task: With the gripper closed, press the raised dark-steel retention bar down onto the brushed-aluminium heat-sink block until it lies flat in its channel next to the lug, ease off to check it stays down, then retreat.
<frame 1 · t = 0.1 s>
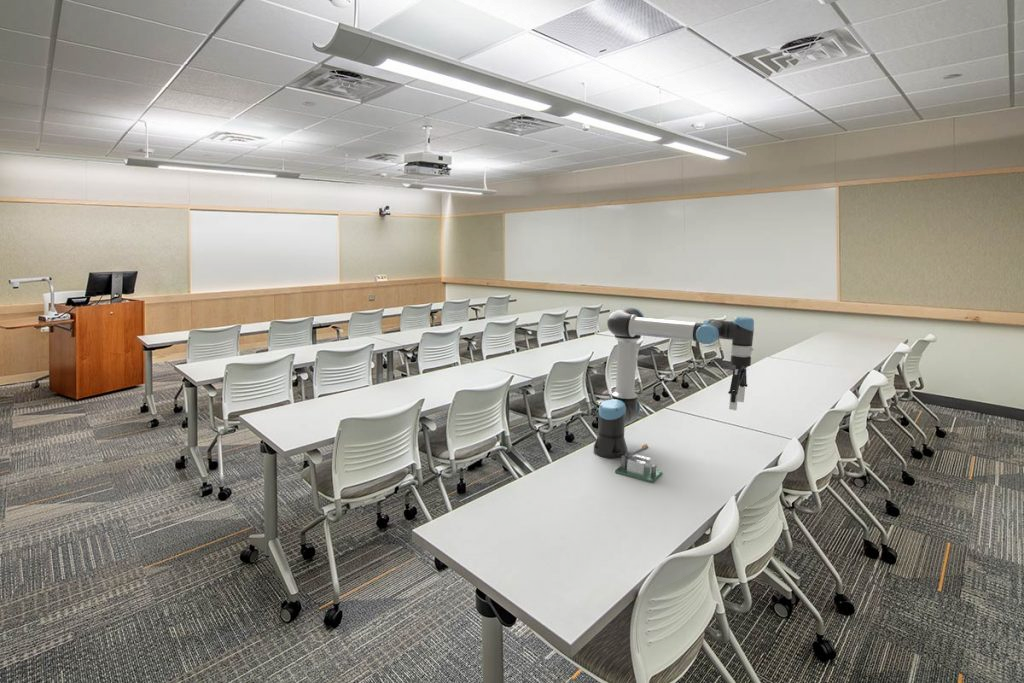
hand: (736, 405, 215), 28 cm above the table, fingers open, 13 cm apart
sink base: (638, 473, 215), on the table
strap: (635, 451, 214), point 9 cm above the table, hinge at 35.0°
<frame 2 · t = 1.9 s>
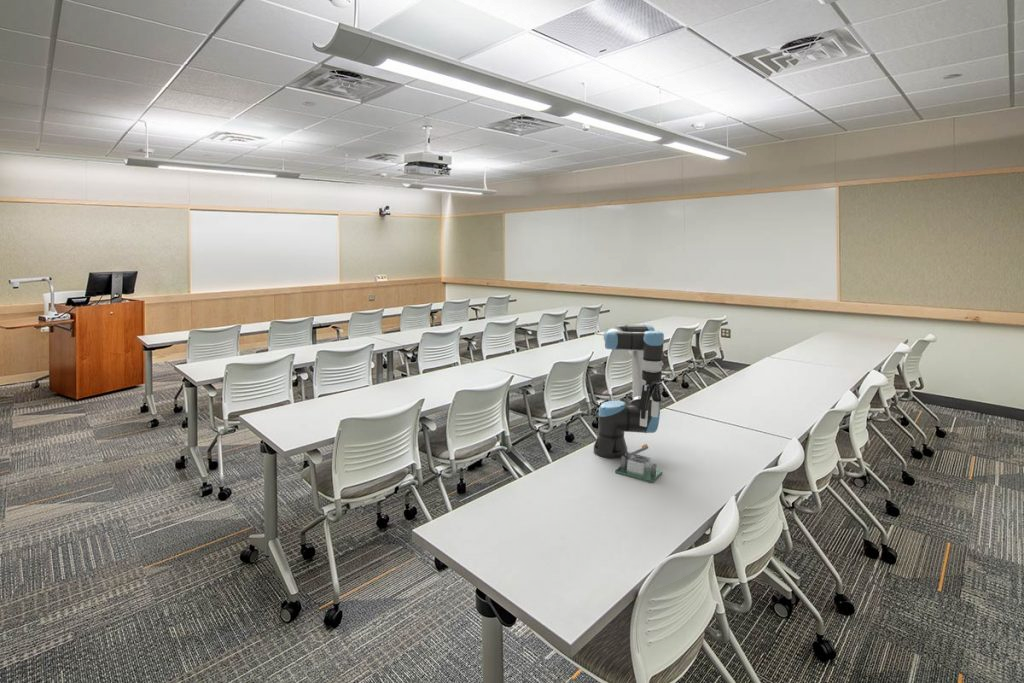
hand: (648, 421, 210), 23 cm above the table, fingers open, 13 cm apart
nothing on the table moved.
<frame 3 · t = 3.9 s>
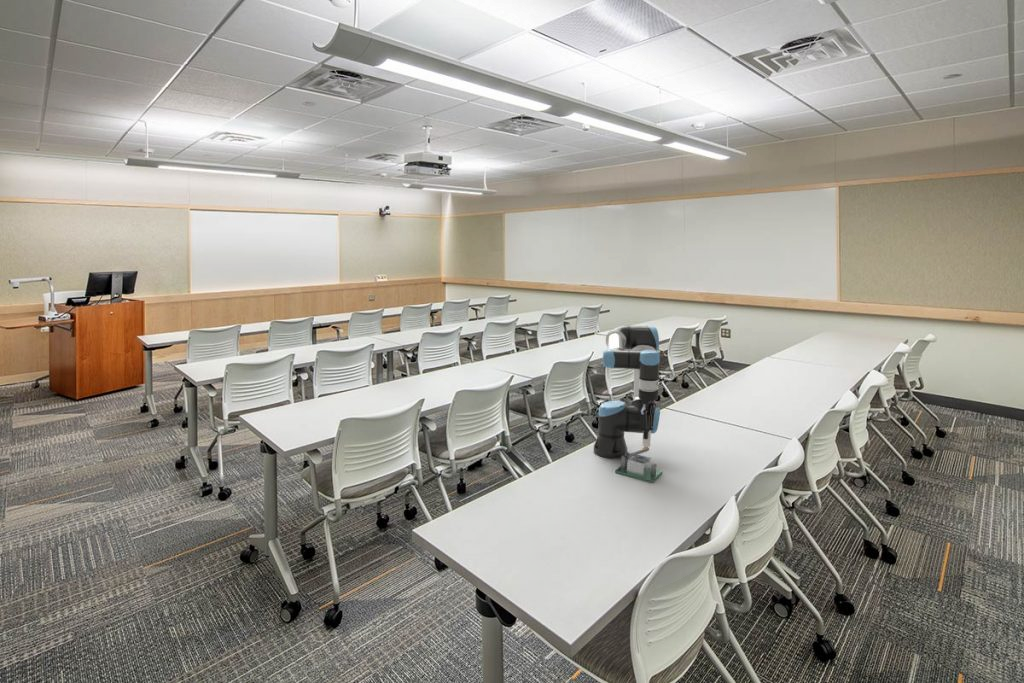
hand: (646, 445, 211), 13 cm above the table, fingers closed
strap: (635, 452, 214), point 9 cm above the table, hinge at 30.7°, touching gripper
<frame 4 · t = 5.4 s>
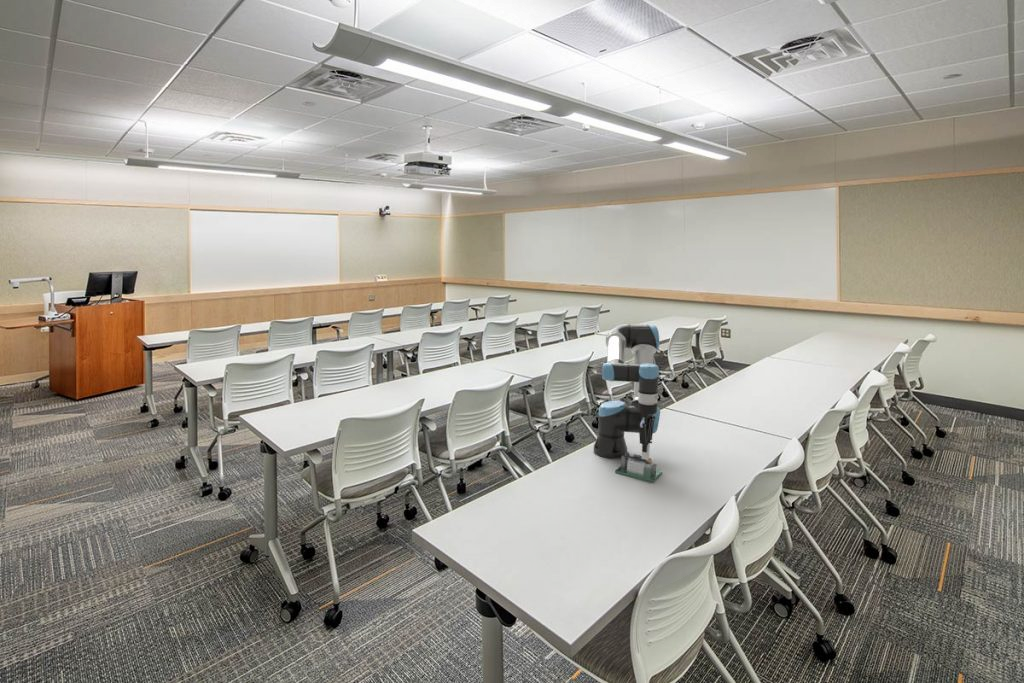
hand: (645, 458, 211), 7 cm above the table, fingers closed
strap: (637, 458, 214), point 6 cm above the table, hinge at 1.1°, touching gripper
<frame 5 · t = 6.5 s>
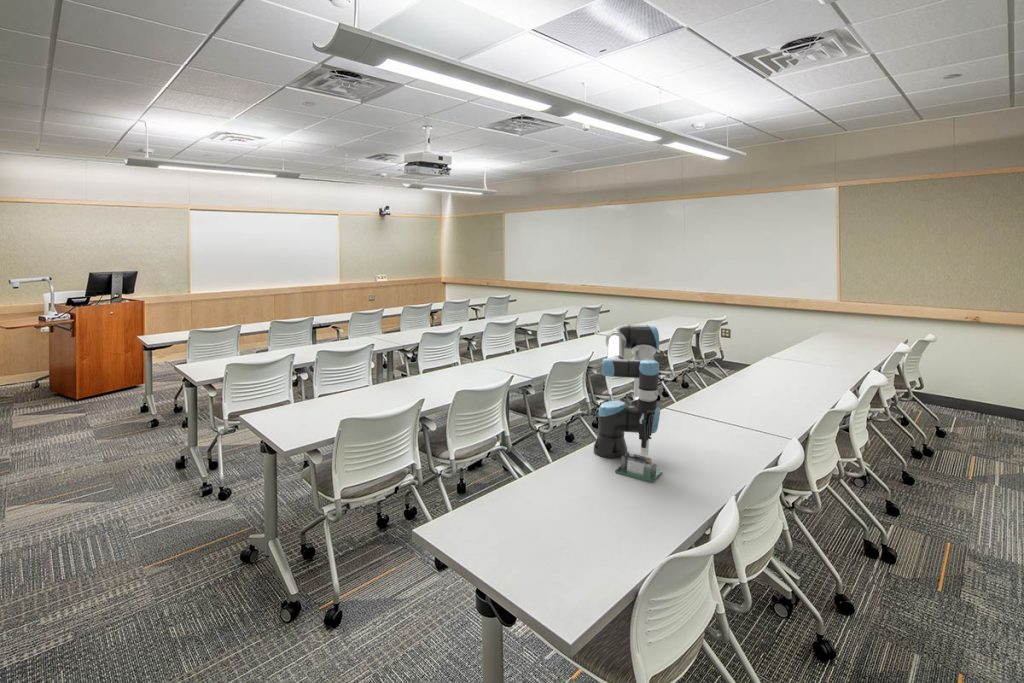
hand: (644, 454, 212), 9 cm above the table, fingers closed
strap: (637, 458, 214), point 6 cm above the table, hinge at 1.1°
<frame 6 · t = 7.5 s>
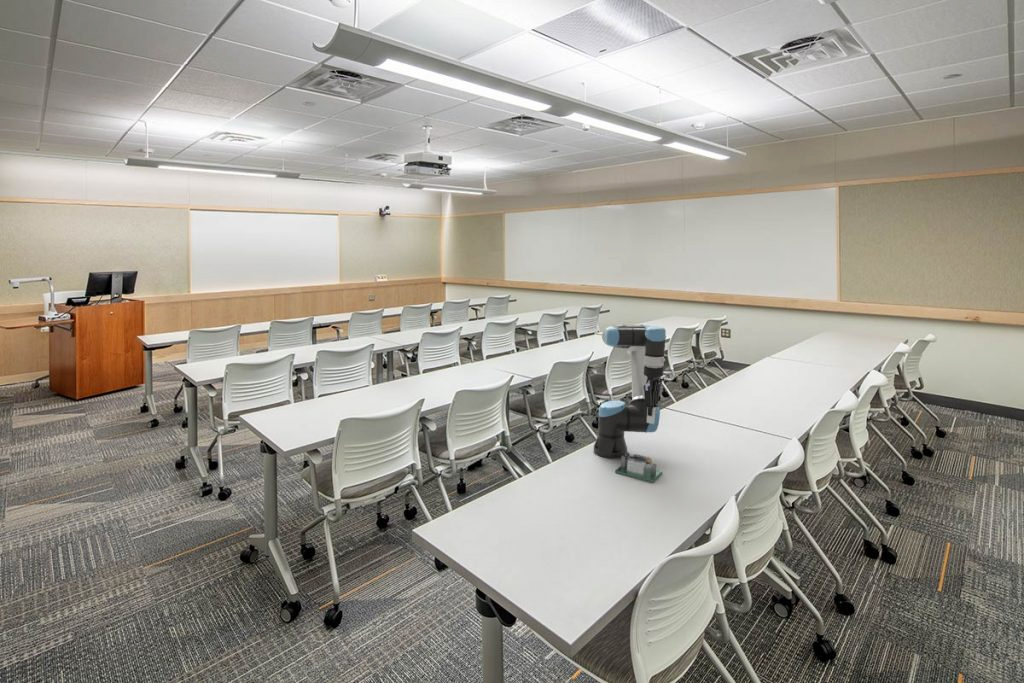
hand: (650, 422, 210), 22 cm above the table, fingers closed
nothing on the table moved.
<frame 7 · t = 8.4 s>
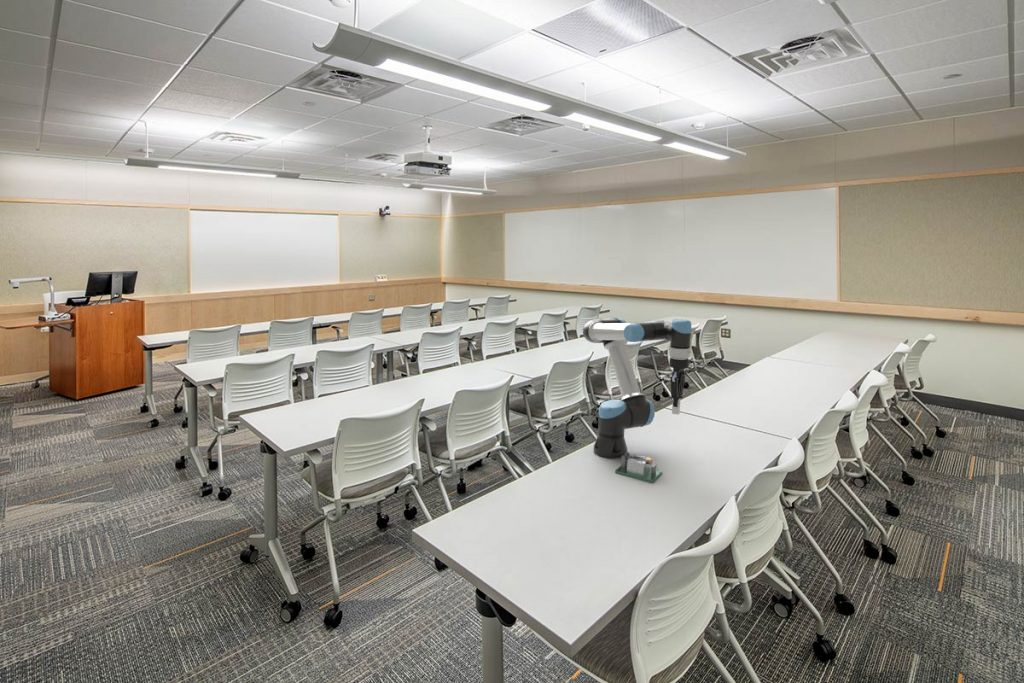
hand: (675, 413, 214), 24 cm above the table, fingers closed
nothing on the table moved.
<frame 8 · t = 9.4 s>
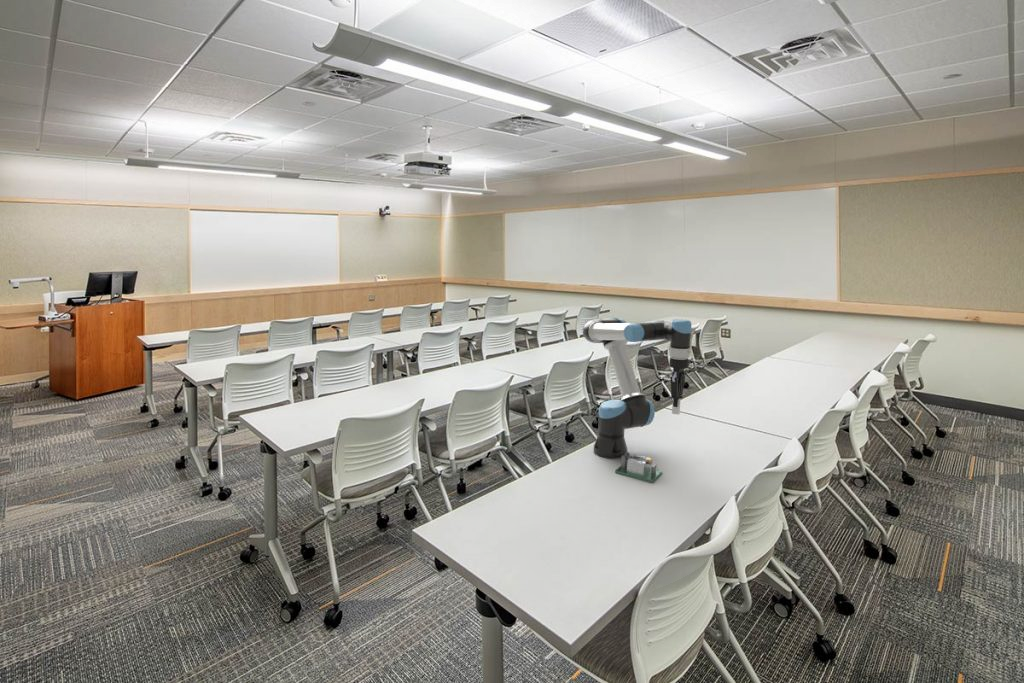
hand: (675, 413, 214), 24 cm above the table, fingers closed
nothing on the table moved.
at the end: strap at +1° (first picture: +35°) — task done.
